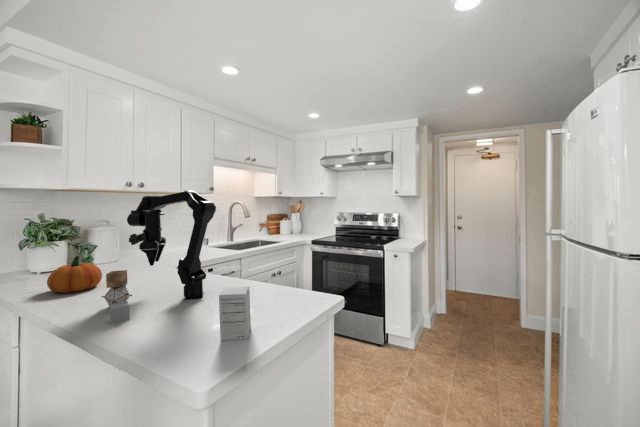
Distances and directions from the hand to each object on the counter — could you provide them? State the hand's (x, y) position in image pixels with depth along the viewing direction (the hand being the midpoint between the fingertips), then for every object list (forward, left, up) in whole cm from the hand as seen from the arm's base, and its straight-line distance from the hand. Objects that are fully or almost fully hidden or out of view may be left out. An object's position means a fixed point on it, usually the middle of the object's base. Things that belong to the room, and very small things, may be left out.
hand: (154, 263), depth 123 cm
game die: (+10, +12, -13) cm, 21 cm away
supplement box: (-31, +52, -13) cm, 62 cm away
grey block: (+5, +27, -13) cm, 30 cm away
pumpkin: (+37, -23, -13) cm, 46 cm away
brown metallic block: (+10, +12, -5) cm, 16 cm away
